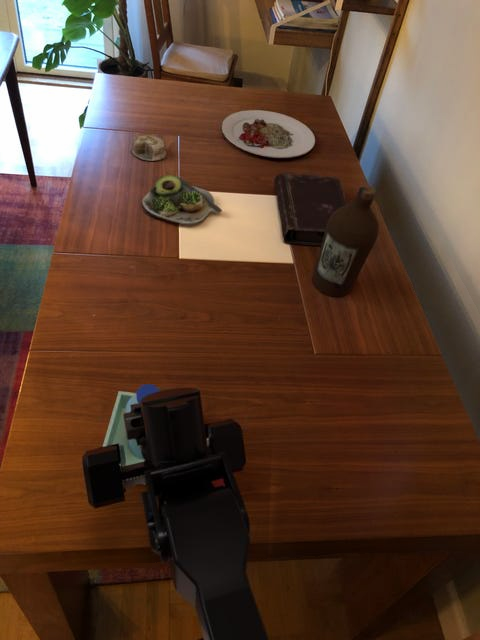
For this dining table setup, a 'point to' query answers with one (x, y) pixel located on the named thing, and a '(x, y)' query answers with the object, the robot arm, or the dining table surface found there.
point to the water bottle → (135, 399)
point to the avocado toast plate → (178, 201)
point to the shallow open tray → (120, 428)
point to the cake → (149, 148)
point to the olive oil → (346, 245)
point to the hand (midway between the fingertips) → (156, 440)
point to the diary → (307, 206)
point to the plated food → (268, 134)
